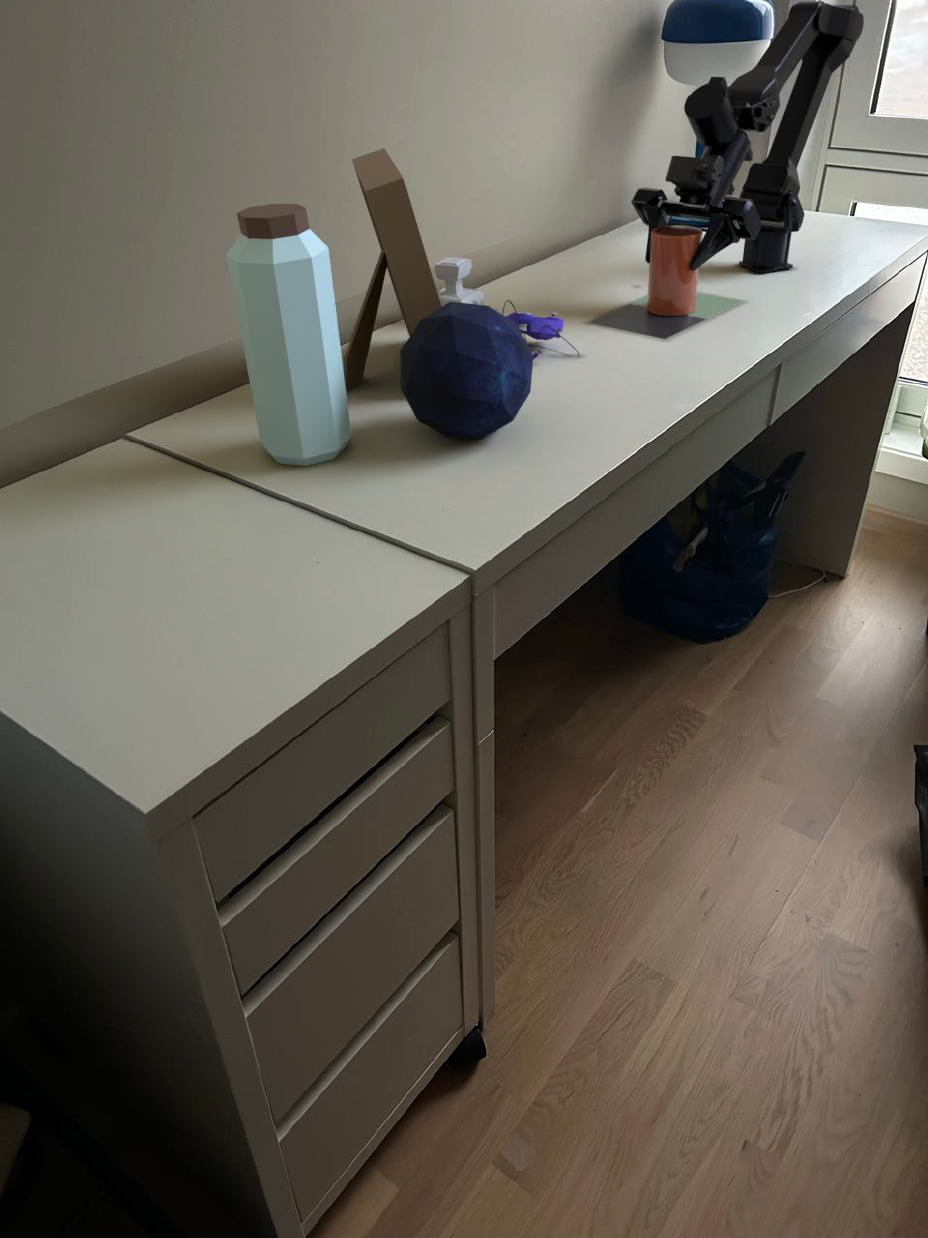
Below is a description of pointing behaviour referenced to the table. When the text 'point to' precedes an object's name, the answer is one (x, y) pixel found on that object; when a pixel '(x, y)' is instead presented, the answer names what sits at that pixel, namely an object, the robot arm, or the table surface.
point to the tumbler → (673, 270)
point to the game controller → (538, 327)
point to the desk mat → (663, 326)
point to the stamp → (456, 282)
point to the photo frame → (389, 258)
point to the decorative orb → (466, 370)
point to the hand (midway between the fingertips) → (668, 265)
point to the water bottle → (290, 334)
